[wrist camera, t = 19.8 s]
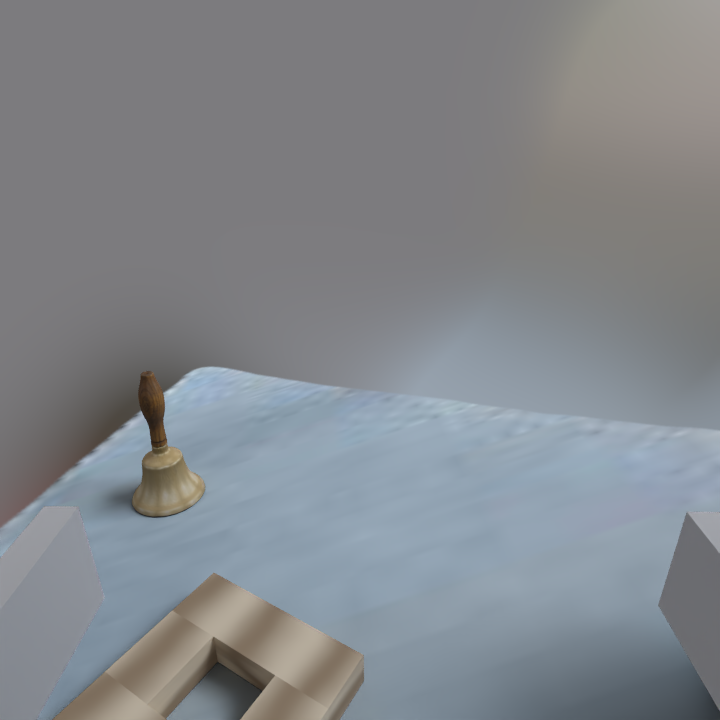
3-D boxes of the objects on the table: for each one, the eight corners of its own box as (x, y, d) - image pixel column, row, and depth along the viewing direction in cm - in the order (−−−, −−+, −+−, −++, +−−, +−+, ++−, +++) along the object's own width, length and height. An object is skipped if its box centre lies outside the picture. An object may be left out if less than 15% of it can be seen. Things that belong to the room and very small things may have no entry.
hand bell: (129, 484, 66) (102, 367, 59) (198, 466, 69) (179, 353, 63) (135, 526, 59) (105, 399, 53) (211, 504, 62) (192, 382, 56)
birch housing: (363, 680, 43) (363, 655, 41) (217, 913, 30) (210, 887, 29) (217, 596, 50) (213, 572, 49) (53, 755, 38) (42, 728, 37)
